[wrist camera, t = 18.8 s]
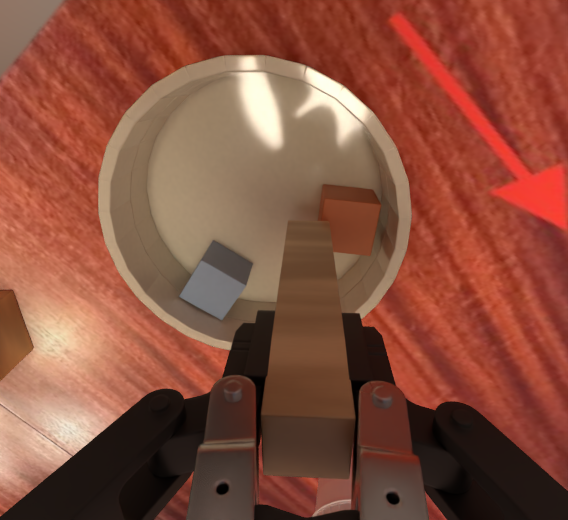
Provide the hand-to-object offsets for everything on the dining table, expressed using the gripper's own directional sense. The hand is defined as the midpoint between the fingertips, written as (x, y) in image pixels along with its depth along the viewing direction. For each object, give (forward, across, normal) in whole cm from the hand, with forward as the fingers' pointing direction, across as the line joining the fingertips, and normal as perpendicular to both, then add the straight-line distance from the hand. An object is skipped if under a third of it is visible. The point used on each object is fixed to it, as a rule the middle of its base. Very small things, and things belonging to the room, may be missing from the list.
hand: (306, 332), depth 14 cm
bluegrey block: (+13, +6, +4) cm, 15 cm away
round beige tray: (+14, +3, -1) cm, 14 cm away
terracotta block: (+13, -2, 0) cm, 14 cm away
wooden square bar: (+9, 0, 0) cm, 9 cm away
